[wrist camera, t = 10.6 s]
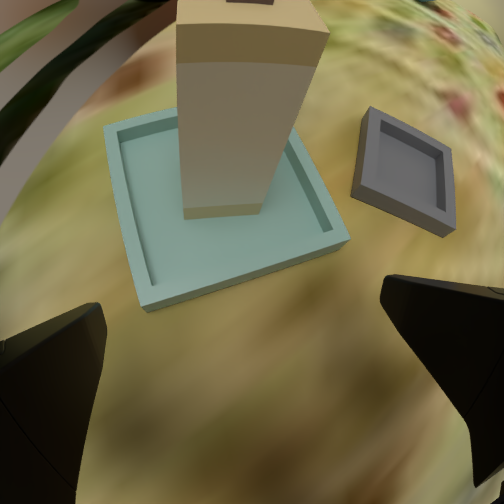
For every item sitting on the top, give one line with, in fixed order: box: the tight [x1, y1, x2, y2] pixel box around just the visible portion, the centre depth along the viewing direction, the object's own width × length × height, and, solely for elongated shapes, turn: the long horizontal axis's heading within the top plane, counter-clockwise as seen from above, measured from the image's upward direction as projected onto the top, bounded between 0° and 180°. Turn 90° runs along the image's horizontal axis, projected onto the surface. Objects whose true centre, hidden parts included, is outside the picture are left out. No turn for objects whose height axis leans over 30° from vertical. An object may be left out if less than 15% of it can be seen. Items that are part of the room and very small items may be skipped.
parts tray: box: [103, 107, 351, 312], centre depth 18 cm, size 12×12×2 cm
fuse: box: [176, 0, 330, 220], centre depth 13 cm, size 4×4×12 cm
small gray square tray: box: [351, 106, 456, 238], centre depth 22 cm, size 8×9×2 cm
